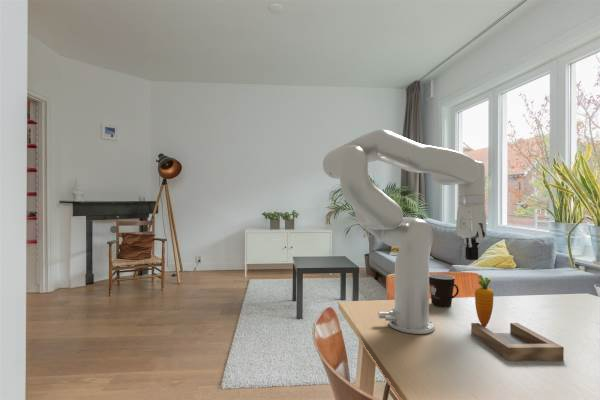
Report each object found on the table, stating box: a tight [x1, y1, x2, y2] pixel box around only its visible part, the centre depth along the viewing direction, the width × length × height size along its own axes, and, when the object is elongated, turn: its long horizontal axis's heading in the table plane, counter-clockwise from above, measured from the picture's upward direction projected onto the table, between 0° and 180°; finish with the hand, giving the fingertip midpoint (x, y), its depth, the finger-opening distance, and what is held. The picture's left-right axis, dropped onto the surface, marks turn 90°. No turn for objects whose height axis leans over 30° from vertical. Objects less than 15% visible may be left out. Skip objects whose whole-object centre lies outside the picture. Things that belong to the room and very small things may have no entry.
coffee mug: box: [429, 273, 460, 308], centre depth 121 cm, size 12×9×10 cm
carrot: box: [474, 274, 494, 328], centre depth 100 cm, size 5×5×15 cm
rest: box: [470, 322, 565, 362], centre depth 87 cm, size 13×16×3 cm
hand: (471, 259), depth 108 cm, fingers closed
